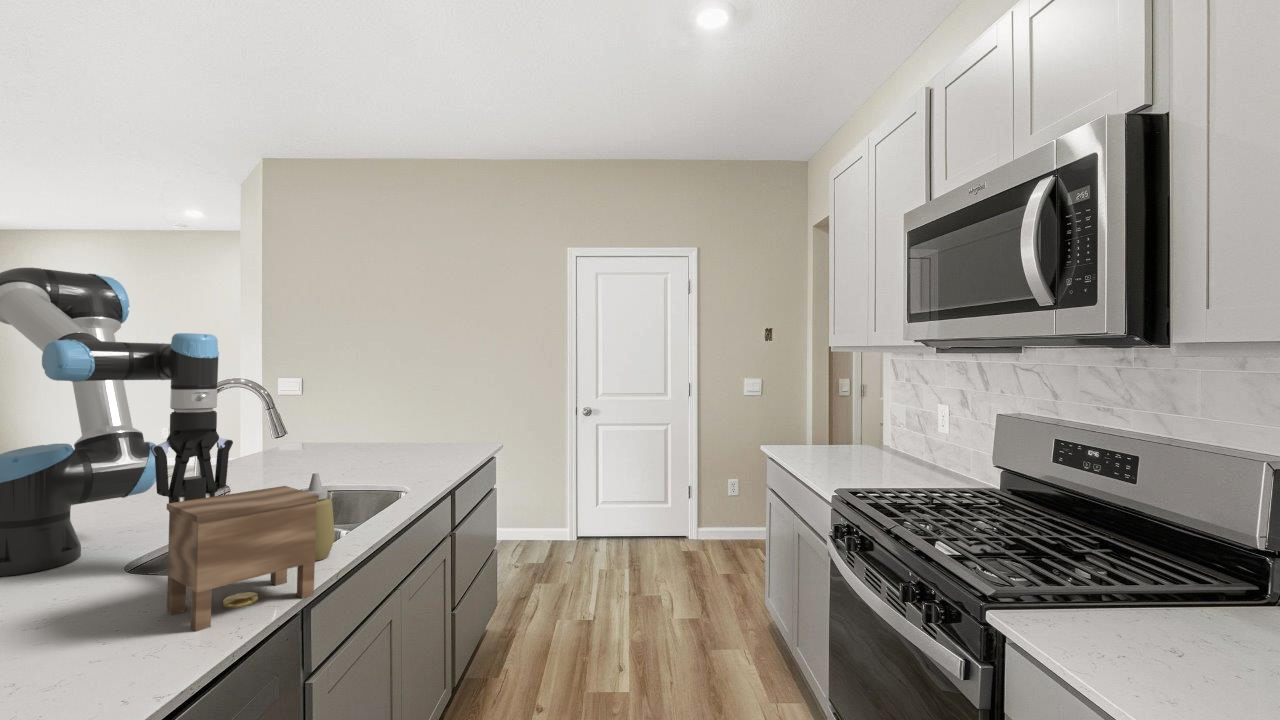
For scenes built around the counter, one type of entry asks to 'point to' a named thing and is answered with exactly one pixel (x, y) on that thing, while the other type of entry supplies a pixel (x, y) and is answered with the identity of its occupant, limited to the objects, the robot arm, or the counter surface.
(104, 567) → the counter surface
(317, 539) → the squeeze bottle
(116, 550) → the counter surface
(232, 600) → the brass token
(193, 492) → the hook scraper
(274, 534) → the walnut cabinet
